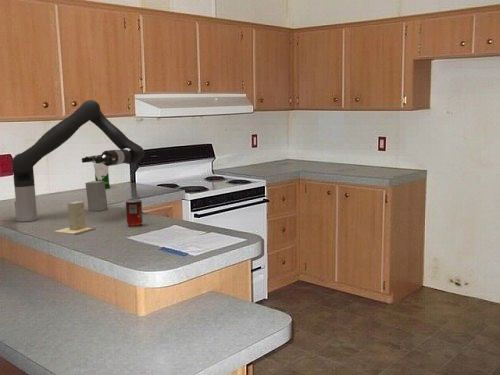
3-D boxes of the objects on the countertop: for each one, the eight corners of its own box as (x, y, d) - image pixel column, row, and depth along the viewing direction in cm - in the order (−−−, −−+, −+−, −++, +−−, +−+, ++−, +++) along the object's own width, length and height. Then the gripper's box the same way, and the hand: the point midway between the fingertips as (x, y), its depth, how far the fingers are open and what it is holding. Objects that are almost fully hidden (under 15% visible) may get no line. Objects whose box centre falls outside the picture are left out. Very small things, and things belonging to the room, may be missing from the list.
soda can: (143, 226, 241) (141, 199, 239) (127, 227, 239) (126, 201, 237) (142, 223, 248) (140, 197, 246) (126, 224, 246) (125, 198, 244)
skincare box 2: (108, 209, 287) (106, 180, 285) (99, 211, 281) (97, 182, 278) (95, 208, 291) (94, 180, 288) (86, 210, 284) (84, 181, 282)
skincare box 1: (77, 230, 233) (75, 203, 232) (69, 230, 235) (67, 203, 233) (86, 227, 239) (84, 201, 238) (78, 227, 241) (76, 200, 239)
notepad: (54, 232, 233) (54, 230, 233) (73, 227, 243) (73, 226, 243) (77, 234, 227) (77, 233, 227) (95, 229, 237) (95, 228, 237)
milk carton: (103, 187, 376) (101, 159, 373) (112, 188, 371) (110, 160, 369) (93, 189, 369) (91, 160, 366) (102, 189, 364) (100, 161, 361)
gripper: (101, 149, 263) (77, 152, 249) (123, 150, 256) (100, 152, 242) (102, 164, 264) (78, 168, 250) (124, 165, 257) (101, 169, 243)
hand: (89, 160), depth 246 cm, fingers open, 8 cm apart
